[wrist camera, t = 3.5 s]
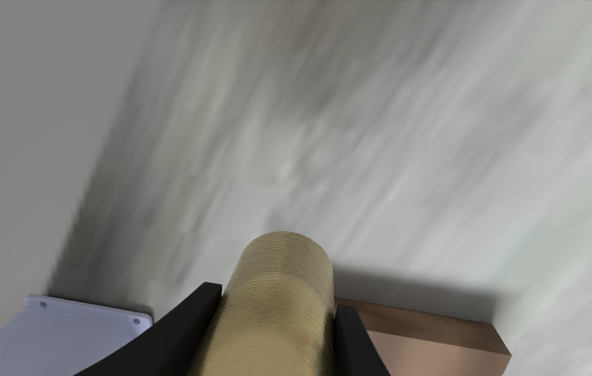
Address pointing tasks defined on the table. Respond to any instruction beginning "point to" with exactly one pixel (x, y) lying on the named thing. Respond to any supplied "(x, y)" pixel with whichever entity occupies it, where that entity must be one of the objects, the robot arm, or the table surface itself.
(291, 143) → the table surface
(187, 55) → the table surface
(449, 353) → the jig plate
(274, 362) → the brass peg
